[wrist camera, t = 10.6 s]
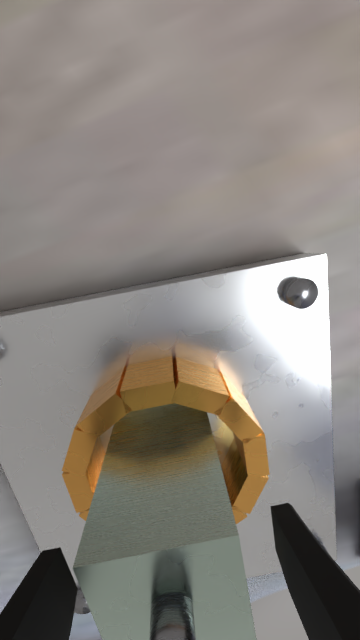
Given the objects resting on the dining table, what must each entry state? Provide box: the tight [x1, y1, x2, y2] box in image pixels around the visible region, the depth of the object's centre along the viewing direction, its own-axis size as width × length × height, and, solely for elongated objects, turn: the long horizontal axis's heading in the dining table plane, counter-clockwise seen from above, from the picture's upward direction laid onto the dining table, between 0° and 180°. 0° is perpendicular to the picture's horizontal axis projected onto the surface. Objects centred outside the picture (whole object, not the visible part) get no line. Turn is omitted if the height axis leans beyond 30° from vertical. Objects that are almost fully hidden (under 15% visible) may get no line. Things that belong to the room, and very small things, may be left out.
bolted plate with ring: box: [0, 253, 337, 614], centre depth 14 cm, size 18×20×4 cm
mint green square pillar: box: [73, 403, 256, 640], centre depth 10 cm, size 4×4×8 cm
